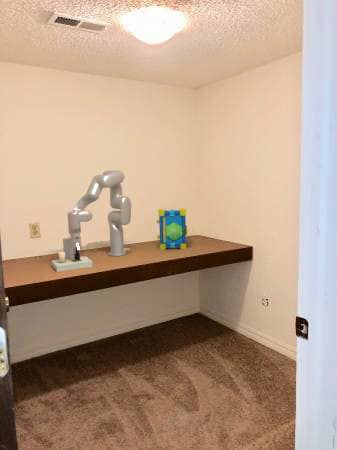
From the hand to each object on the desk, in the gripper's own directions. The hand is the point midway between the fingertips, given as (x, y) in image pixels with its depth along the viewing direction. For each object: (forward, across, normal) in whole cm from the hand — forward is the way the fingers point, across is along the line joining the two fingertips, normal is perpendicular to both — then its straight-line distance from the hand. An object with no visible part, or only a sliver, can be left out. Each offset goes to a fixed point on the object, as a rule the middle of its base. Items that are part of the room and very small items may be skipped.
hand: (76, 258), depth 235 cm
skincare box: (+5, +20, -1) cm, 21 cm away
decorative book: (+5, +11, -76) cm, 77 cm away
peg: (+2, 0, 0) cm, 2 cm away
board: (+5, 0, +3) cm, 6 cm away
